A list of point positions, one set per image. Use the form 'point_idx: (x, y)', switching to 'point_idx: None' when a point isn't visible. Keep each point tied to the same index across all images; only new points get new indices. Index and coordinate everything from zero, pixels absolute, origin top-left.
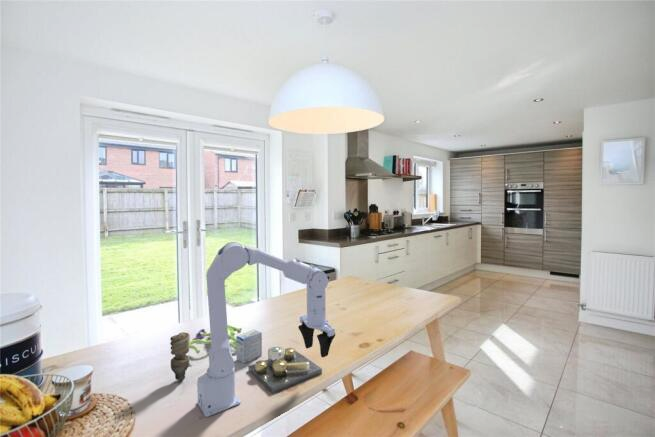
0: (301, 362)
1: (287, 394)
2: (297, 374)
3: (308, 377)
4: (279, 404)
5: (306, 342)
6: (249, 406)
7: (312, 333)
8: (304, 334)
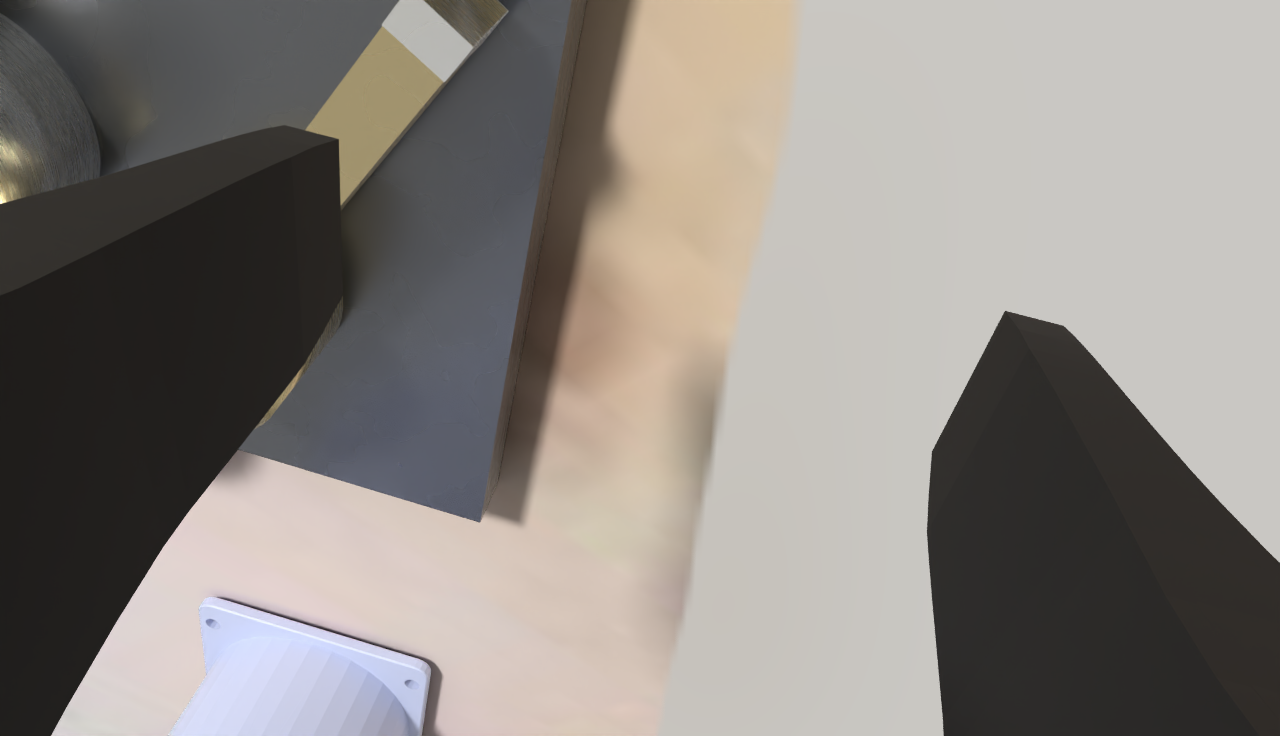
0: (336, 98)
1: (629, 430)
2: (448, 172)
3: (576, 40)
4: (687, 560)
5: (248, 405)
6: (509, 654)
7: (47, 340)
8: (76, 663)
